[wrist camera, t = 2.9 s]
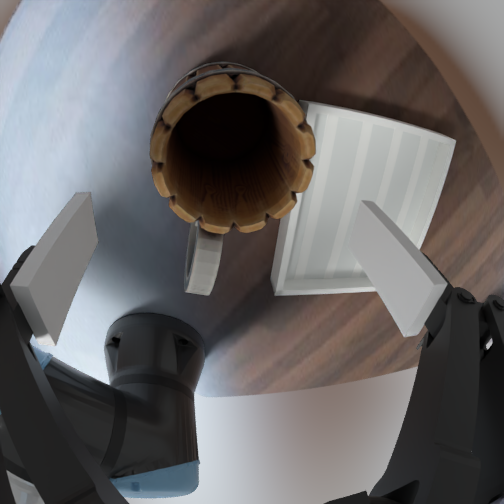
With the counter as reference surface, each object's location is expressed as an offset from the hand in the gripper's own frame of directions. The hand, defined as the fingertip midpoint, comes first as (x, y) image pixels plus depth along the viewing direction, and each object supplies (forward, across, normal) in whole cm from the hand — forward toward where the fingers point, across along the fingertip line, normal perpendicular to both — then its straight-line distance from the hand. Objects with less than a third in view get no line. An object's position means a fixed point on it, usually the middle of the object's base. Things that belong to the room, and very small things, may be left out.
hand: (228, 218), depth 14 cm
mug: (+16, 0, 0) cm, 17 cm away
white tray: (+16, +17, -6) cm, 24 cm away
